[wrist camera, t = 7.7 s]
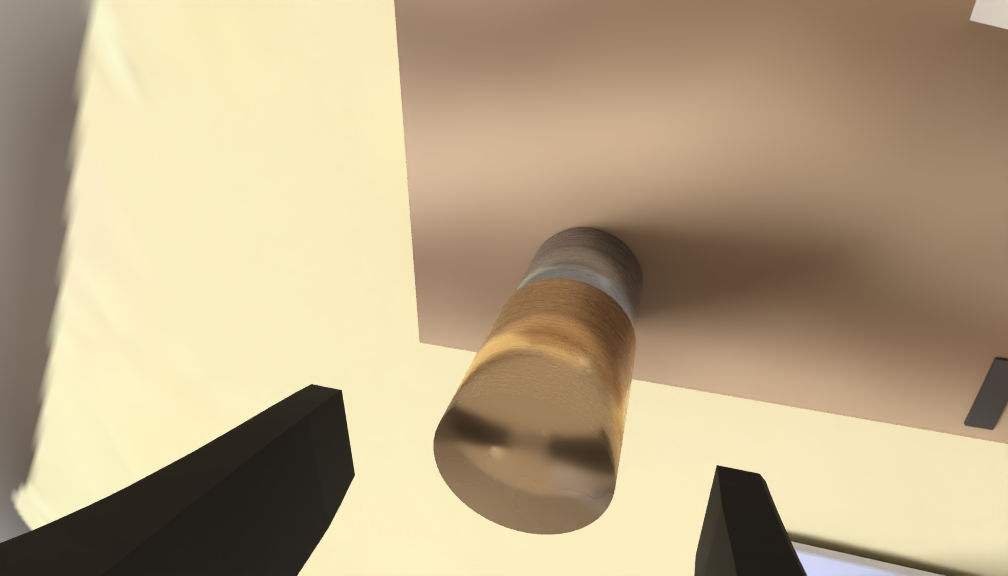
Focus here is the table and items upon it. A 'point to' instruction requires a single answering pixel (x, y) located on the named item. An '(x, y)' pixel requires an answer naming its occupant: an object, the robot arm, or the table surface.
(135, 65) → the table surface
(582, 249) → the copper and grey cylinder
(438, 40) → the subfloor
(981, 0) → the white open box
